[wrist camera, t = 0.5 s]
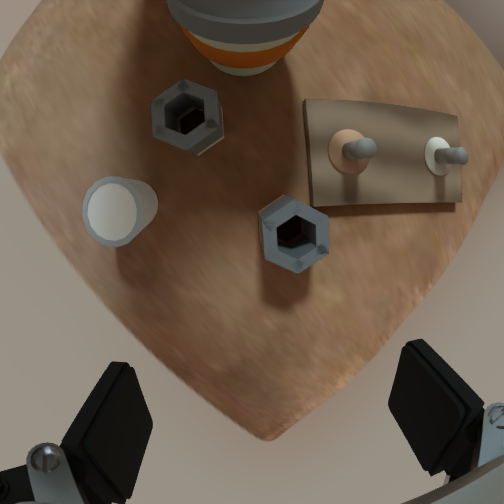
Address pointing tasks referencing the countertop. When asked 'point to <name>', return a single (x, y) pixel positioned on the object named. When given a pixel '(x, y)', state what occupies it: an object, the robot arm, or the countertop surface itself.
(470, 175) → the countertop surface
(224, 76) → the countertop surface
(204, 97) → the cream-banded sleeve
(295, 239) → the terracotta-banded sleeve
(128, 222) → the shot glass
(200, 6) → the reusable coffee cup
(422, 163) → the pin board
